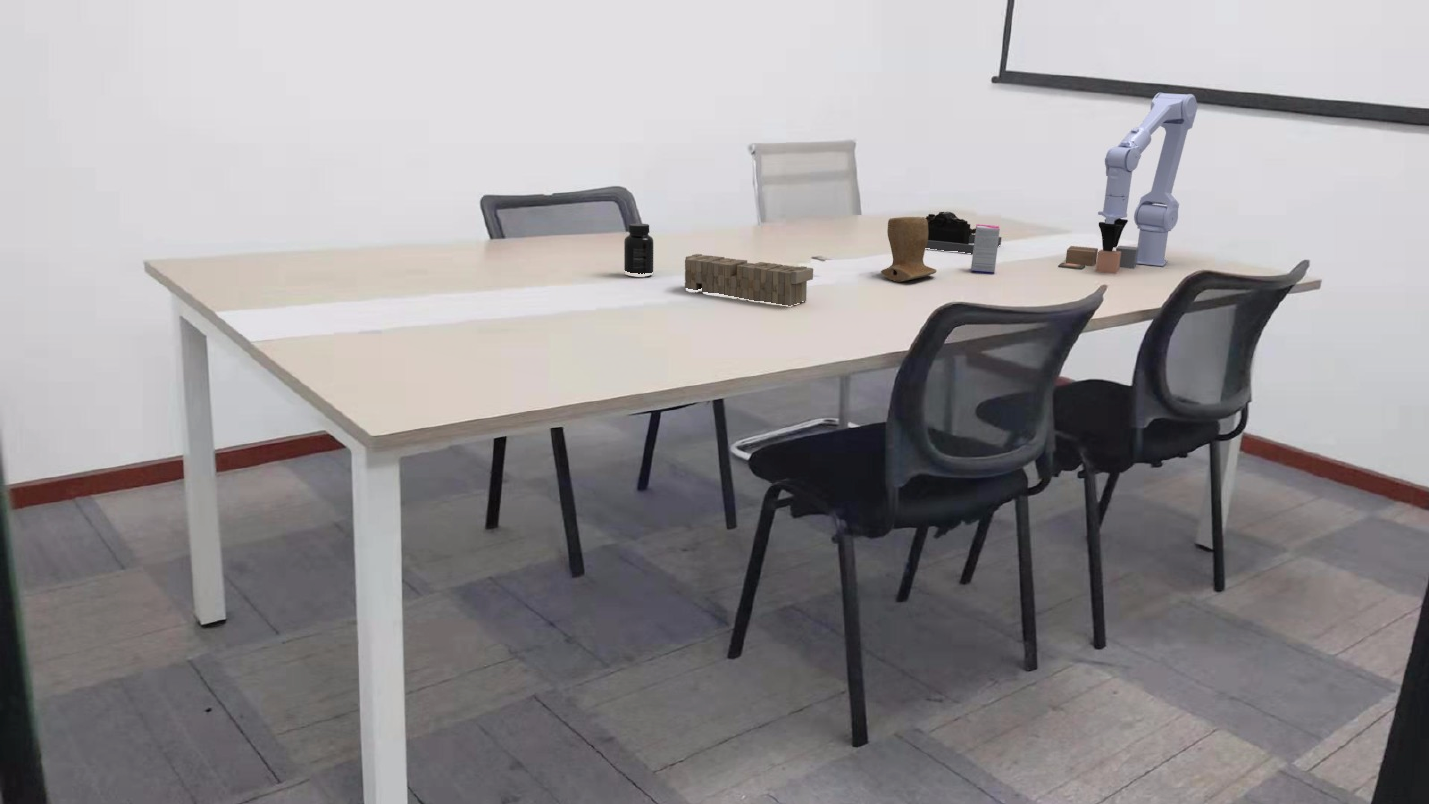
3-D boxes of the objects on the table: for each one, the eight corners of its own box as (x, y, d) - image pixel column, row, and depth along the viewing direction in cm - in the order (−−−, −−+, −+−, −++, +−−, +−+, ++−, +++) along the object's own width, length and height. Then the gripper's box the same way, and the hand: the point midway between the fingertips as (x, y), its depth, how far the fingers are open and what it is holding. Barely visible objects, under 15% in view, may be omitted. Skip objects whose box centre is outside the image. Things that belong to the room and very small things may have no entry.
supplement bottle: (658, 274, 277) (659, 224, 274) (644, 279, 271) (645, 227, 268) (632, 271, 280) (633, 221, 276) (618, 276, 274) (619, 224, 270)
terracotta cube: (1098, 268, 304) (1101, 249, 303) (1118, 270, 302) (1121, 251, 300) (1095, 271, 300) (1098, 252, 298) (1115, 273, 298) (1118, 254, 296)
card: (1061, 264, 308) (1061, 261, 308) (1085, 266, 305) (1085, 264, 305) (1057, 267, 304) (1058, 264, 303) (1081, 269, 301) (1081, 267, 301)
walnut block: (1069, 260, 315) (1071, 245, 314) (1096, 263, 313) (1097, 248, 312) (1065, 264, 309) (1067, 249, 308) (1092, 267, 307) (1094, 252, 305)
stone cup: (900, 270, 292) (904, 210, 288) (942, 277, 285) (947, 215, 280) (867, 278, 281) (871, 215, 276) (910, 285, 274) (915, 221, 269)
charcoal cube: (1116, 264, 311) (1119, 245, 310) (1136, 266, 309) (1138, 247, 308) (1113, 267, 307) (1116, 248, 306) (1133, 269, 305) (1136, 250, 303)
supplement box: (995, 274, 291) (999, 228, 287) (970, 272, 292) (975, 227, 289) (994, 270, 296) (999, 225, 293) (970, 268, 297) (975, 223, 294)
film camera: (986, 247, 331) (989, 212, 328) (970, 253, 321) (974, 217, 318) (927, 240, 340) (930, 206, 337) (910, 246, 330) (913, 210, 327)
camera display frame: (919, 237, 344) (920, 229, 344) (1000, 245, 334) (1001, 237, 334) (898, 246, 327) (898, 237, 327) (983, 255, 317) (984, 246, 316)
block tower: (679, 296, 260) (795, 309, 245) (678, 258, 258) (796, 270, 243) (697, 290, 266) (812, 303, 252) (697, 253, 264) (813, 264, 249)
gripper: (1105, 191, 303) (1098, 243, 307) (1095, 196, 291) (1088, 251, 294) (1133, 193, 300) (1126, 246, 304) (1125, 199, 288) (1118, 254, 292)
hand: (1109, 249), depth 299 cm, fingers open, 7 cm apart
